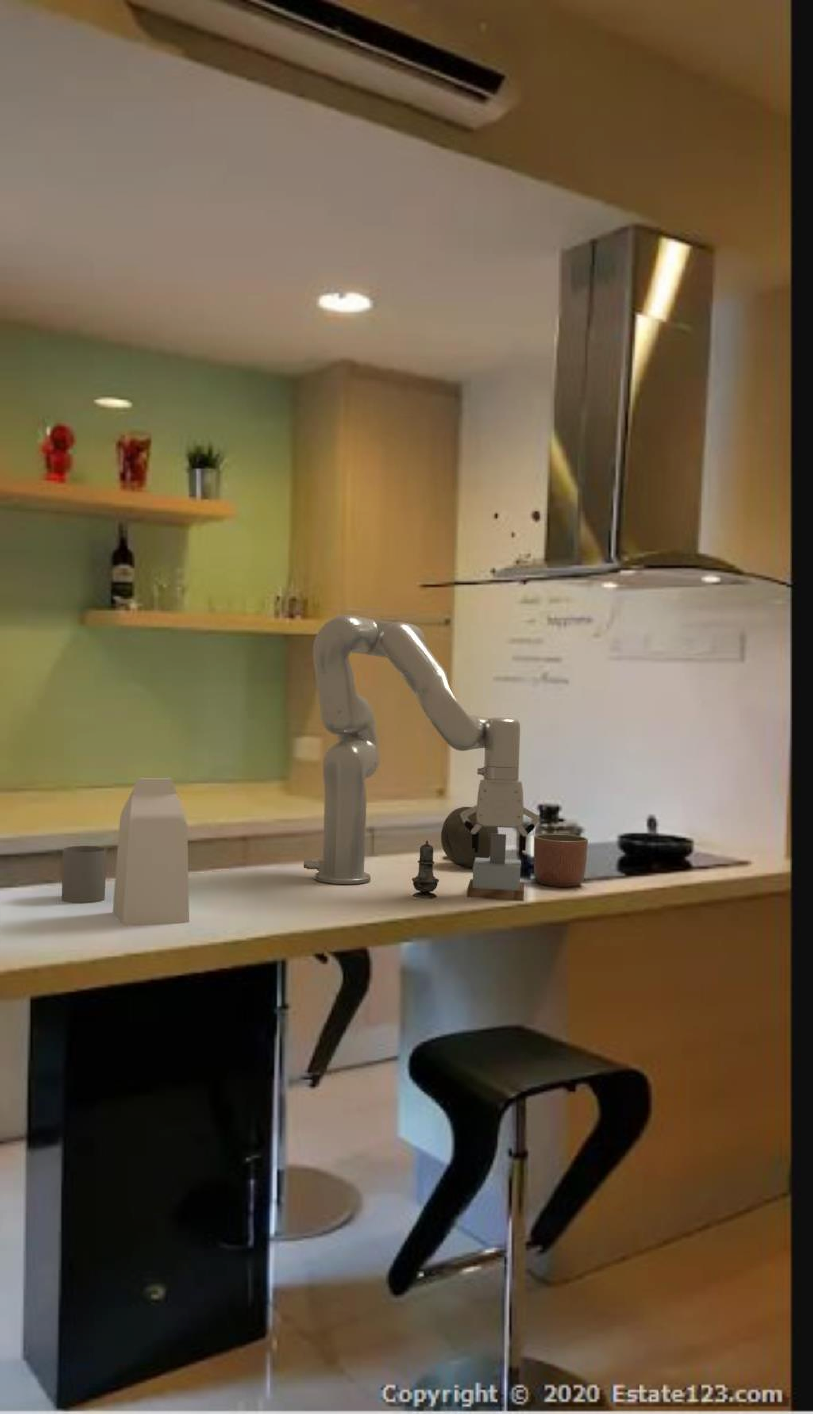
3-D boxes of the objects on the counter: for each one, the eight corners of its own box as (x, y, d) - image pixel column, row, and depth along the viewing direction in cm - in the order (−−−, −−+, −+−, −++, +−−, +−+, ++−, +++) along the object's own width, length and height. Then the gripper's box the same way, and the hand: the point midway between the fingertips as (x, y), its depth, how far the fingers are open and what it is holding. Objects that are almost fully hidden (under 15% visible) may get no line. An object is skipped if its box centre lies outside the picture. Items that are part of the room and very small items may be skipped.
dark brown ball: (498, 873, 272) (501, 811, 271) (440, 871, 272) (442, 809, 271) (494, 863, 286) (497, 805, 285) (439, 861, 286) (441, 802, 285)
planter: (548, 890, 252) (550, 841, 252) (522, 880, 264) (524, 833, 264) (596, 888, 257) (598, 840, 257) (569, 878, 268) (570, 833, 268)
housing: (472, 887, 241) (474, 836, 240) (474, 879, 251) (476, 830, 250) (519, 890, 239) (521, 839, 239) (519, 882, 249) (521, 833, 249)
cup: (65, 904, 218) (67, 853, 217) (57, 896, 225) (59, 846, 225) (109, 901, 222) (111, 851, 221) (100, 893, 229) (101, 845, 229)
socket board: (467, 897, 240) (467, 887, 240) (470, 887, 251) (470, 879, 251) (523, 900, 239) (523, 891, 239) (523, 891, 250) (524, 882, 250)
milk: (122, 925, 202) (127, 781, 201) (112, 912, 212) (117, 775, 212) (189, 922, 206) (194, 781, 206) (176, 909, 217) (180, 775, 216)
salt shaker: (435, 899, 236) (438, 843, 236) (408, 897, 237) (410, 841, 237) (440, 894, 242) (442, 839, 242) (413, 892, 243) (416, 837, 243)
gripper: (460, 774, 242) (457, 853, 242) (541, 777, 240) (538, 857, 240) (462, 771, 249) (460, 848, 249) (541, 774, 247) (538, 852, 248)
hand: (498, 852), depth 245 cm, fingers open, 9 cm apart
